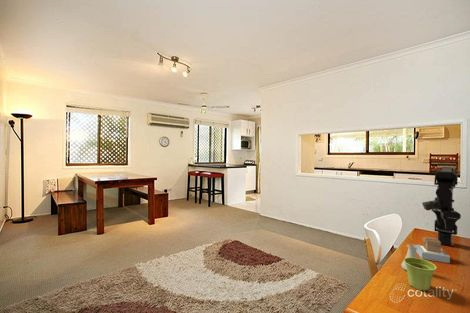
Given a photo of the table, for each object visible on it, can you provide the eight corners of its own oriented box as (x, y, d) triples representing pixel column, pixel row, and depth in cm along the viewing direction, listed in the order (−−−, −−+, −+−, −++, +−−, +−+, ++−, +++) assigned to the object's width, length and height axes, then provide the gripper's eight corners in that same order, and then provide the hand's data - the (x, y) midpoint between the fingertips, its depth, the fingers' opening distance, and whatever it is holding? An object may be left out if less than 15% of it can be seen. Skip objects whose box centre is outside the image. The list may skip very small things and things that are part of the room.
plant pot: (438, 297, 79) (439, 272, 79) (404, 288, 84) (404, 264, 84) (433, 284, 87) (433, 261, 87) (402, 276, 92) (402, 255, 92)
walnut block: (423, 246, 114) (423, 236, 114) (436, 248, 112) (436, 238, 112) (427, 250, 109) (427, 240, 109) (440, 252, 107) (440, 242, 107)
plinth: (415, 250, 117) (415, 244, 117) (440, 254, 113) (441, 247, 113) (421, 258, 108) (422, 252, 108) (449, 263, 104) (449, 256, 104)
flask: (414, 265, 102) (415, 243, 101) (427, 274, 94) (427, 250, 94) (397, 265, 102) (397, 242, 102) (408, 273, 95) (408, 249, 95)
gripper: (418, 192, 127) (417, 220, 127) (430, 198, 110) (429, 231, 110) (445, 194, 122) (444, 223, 123) (461, 200, 105) (460, 235, 106)
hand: (443, 227), depth 116 cm, fingers open, 9 cm apart
